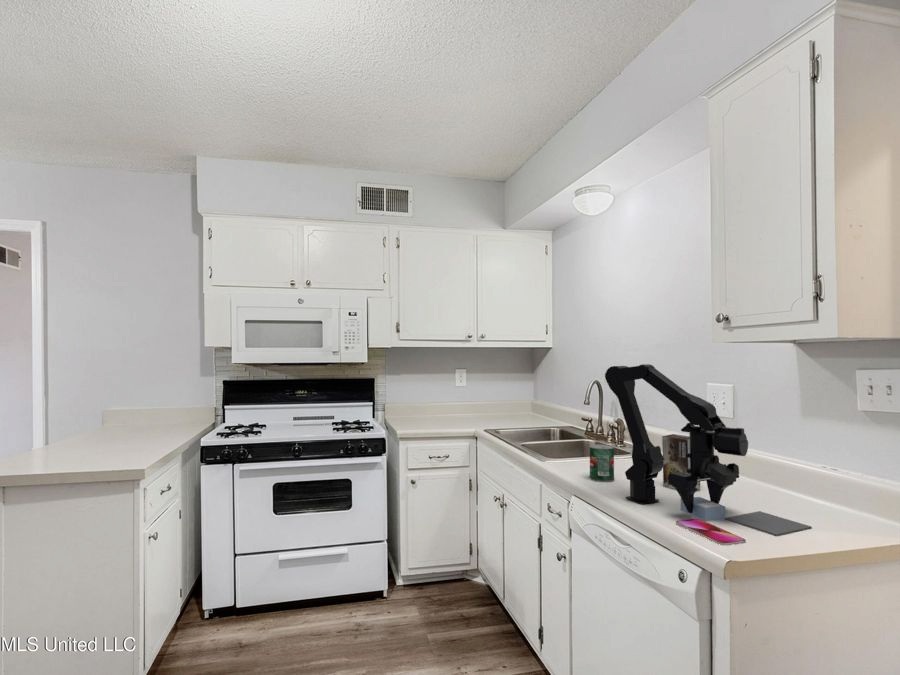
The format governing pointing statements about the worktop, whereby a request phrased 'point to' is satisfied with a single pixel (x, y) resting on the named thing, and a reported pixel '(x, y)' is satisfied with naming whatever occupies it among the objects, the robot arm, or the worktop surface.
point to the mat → (768, 523)
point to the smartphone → (710, 532)
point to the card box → (705, 509)
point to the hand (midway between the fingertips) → (702, 510)
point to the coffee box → (675, 456)
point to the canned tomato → (602, 463)
